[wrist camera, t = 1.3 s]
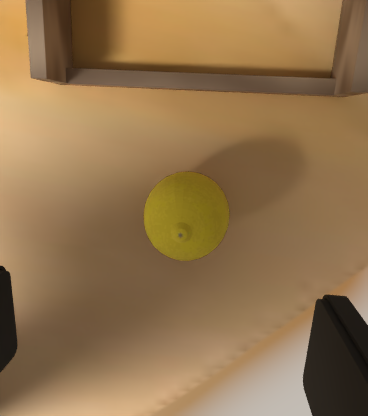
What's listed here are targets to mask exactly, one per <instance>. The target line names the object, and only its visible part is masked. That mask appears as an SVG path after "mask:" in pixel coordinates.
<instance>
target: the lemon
mask: <svg viewBox="0 0 368 416" xmlns="http://www.w3.org/2000/svg"><path fill="white" fill-rule="evenodd" d="M229 215H230V213H229V207H228V202H227V199H226V197H225V195H224V192H223V191H222V190H221V188H220V187H219V186H218V185H217V183H215V182H214V181H213V180H211V179H210V178H209V177H207V176H204V175H202V174H200V173H195V172H189V171H188V172H178V173H175V174H173V175H170V176H167V177H166V178H164V179H163V180H162V181H160V182H159V183H158V184H157V185H156V186H155V187H154V188H153V190H152V191H151V192H150V194H149V196H148V199H147V201H146V203H145V209H144V215H143V216H144V227H145V230H146V233H147V236H148V238H149V240H150V241H151V243H152V244H153V246H154V247H155V248H156V249H157V250H159V251H160V252H161V253H162V254H164V255H166V256H167V257H169V258H172V259H176V260H182V261H190V260H195V259H199V258H201V257H203V256H206V255H208V254H209V253H210V252H211V251H213V250H214V249H215V248H216V247H217V246H218V245H219V243H220V242H221V241H222V239H223V238H224V236H225V233H226V230H227V228H228V224H229Z"/></svg>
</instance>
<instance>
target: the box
mask: <svg viewBox="0 0 368 416" xmlns="http://www.w3.org/2000/svg"><path fill="white" fill-rule="evenodd" d="M26 14H27V28H28V43H29V58H30V72H31V78H33V79H37V80H42V81H47V82H51V83H56V84H60V85H82V86H105V87H128V88H150V89H173V90H196V91H218V92H241V93H264V94H286V95H309V96H332V97H346V96H352V95H358V94H364V93H368V0H343V2H342V9H341V15H340V22H339V28H338V35H337V41H336V48H335V54H334V61H333V67H332V74H331V79H330V78H305V77H280V76H255V75H230V74H205V73H181V72H156V71H131V70H106V69H81V68H73V59H72V32H71V4H70V0H26Z"/></svg>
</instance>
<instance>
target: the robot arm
mask: <svg viewBox="0 0 368 416" xmlns="http://www.w3.org/2000/svg"><path fill="white" fill-rule="evenodd" d="M16 350H17V335H16V325H15V315H14V306H13V296H12V286H11V276H10V273H9V272H8V271H6V269H5V268H4V267H3V266H0V372H1V371H2V370H3V369H4V368H5V366H6V365H7V364H8V363H9V362H10V361H11V359H12V358H13V357H14V355H15V353H16ZM303 386H304V390H305V393H306V397H307V400H308V403H309V406H310V409H311V413H312V415H313V416H368V325H367V324H366V322H365V321H364V320H363V318H362V317H361V315H360V314H359V313H358V311H357V310H356V309H355V307H354V306H353V304H352V303H351V302H350V300H349V299H348V298H347V297H346V296H336V295H324V296H323V299H317V301H316V304H315V310H314V316H313V322H312V328H311V333H310V339H309V345H308V351H307V357H306V362H305V368H304V374H303Z"/></svg>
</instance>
